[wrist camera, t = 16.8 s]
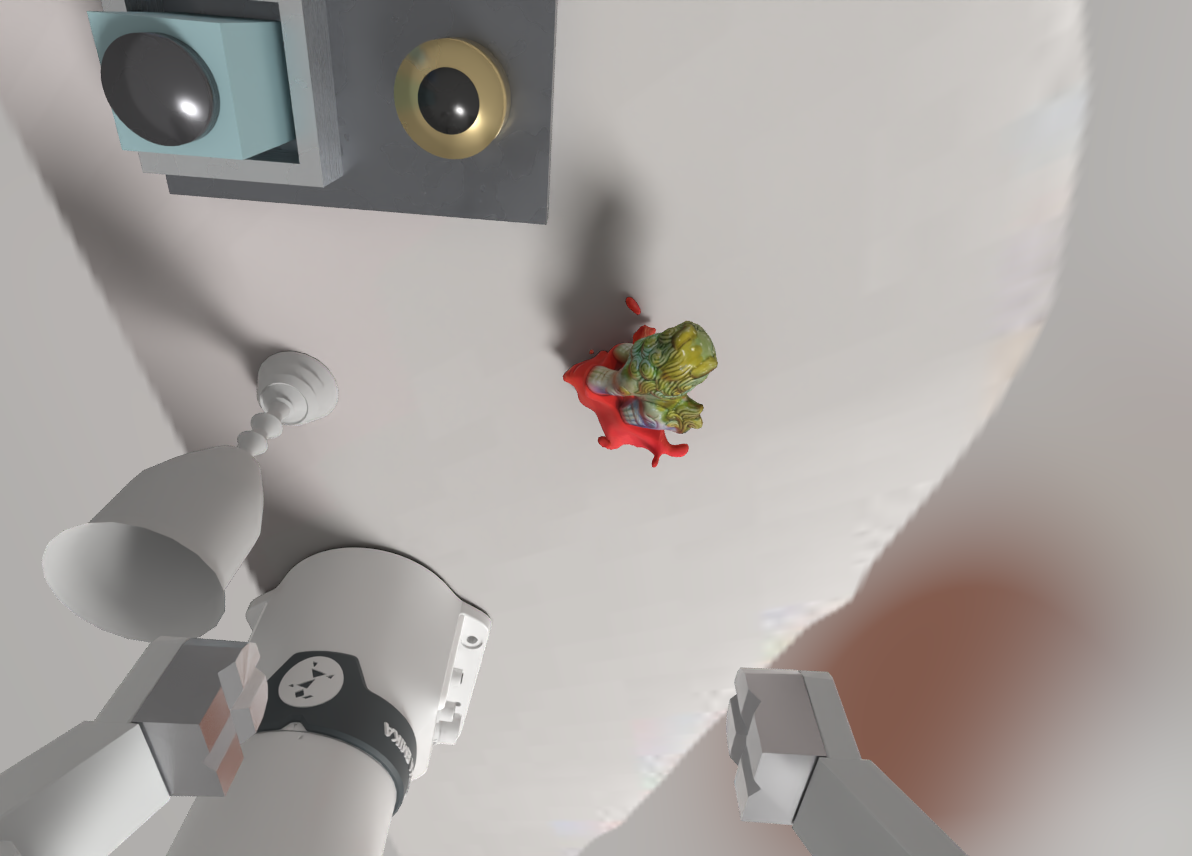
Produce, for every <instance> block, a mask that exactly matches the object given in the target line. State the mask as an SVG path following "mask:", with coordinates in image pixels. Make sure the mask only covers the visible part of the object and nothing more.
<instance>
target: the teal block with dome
mask: <svg viewBox="0 0 1192 856" xmlns="http://www.w3.org/2000/svg"><path fill="white" fill-rule="evenodd" d="M87 14H88V18H89V21H90V25H91V29H92V33H93V37H94V41H95V45H96V49H97V53H98V57H99V61H100V65H101V81H102V86H103V90H104V93H105V96H106V98H107V100H108V102H109V104H110V106H111V108H112V112H113V115H114V119H115V123H116V127H117V131H118V135H119V139H120V143H121V147H122V150H129V151H141V152H153V153H165V154H177V155H189V156H201V157H213V158H225V159H237V160H244V159H247V158H249V157H252V156H254V155H257V154H259V153H262V152H264V151H267V150H269V149H272V148H274V147H277V146H279V145H282V144H284V143H287V142H289V141H292V140H294V139H296V132H295V124H294V117H293V109H292V102H291V94H290V87H289V79H288V72H287V64H286V56H285V49H284V41H283V34H282V26H281V21H274V20H263V19H252V18H241V17H230V16H219V15H208V14H196V13H185V12H111V11H87Z"/></svg>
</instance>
